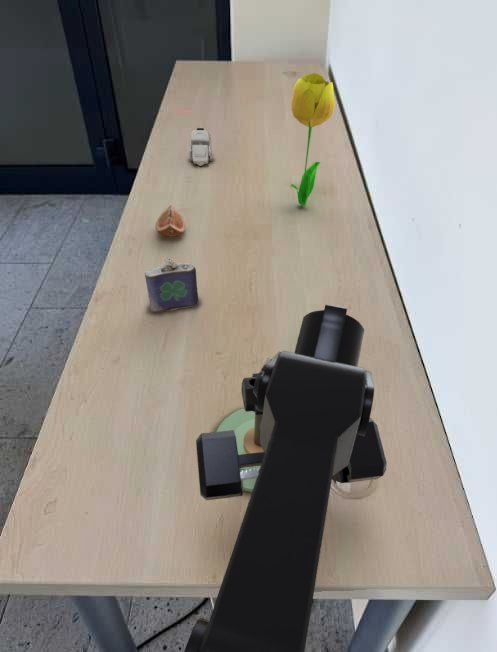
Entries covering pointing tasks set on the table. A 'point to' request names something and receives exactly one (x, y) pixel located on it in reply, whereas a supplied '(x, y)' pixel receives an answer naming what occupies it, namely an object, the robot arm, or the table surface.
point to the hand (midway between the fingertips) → (278, 472)
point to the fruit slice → (170, 223)
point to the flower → (311, 119)
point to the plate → (241, 436)
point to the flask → (172, 286)
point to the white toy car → (200, 146)
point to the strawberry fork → (253, 438)
